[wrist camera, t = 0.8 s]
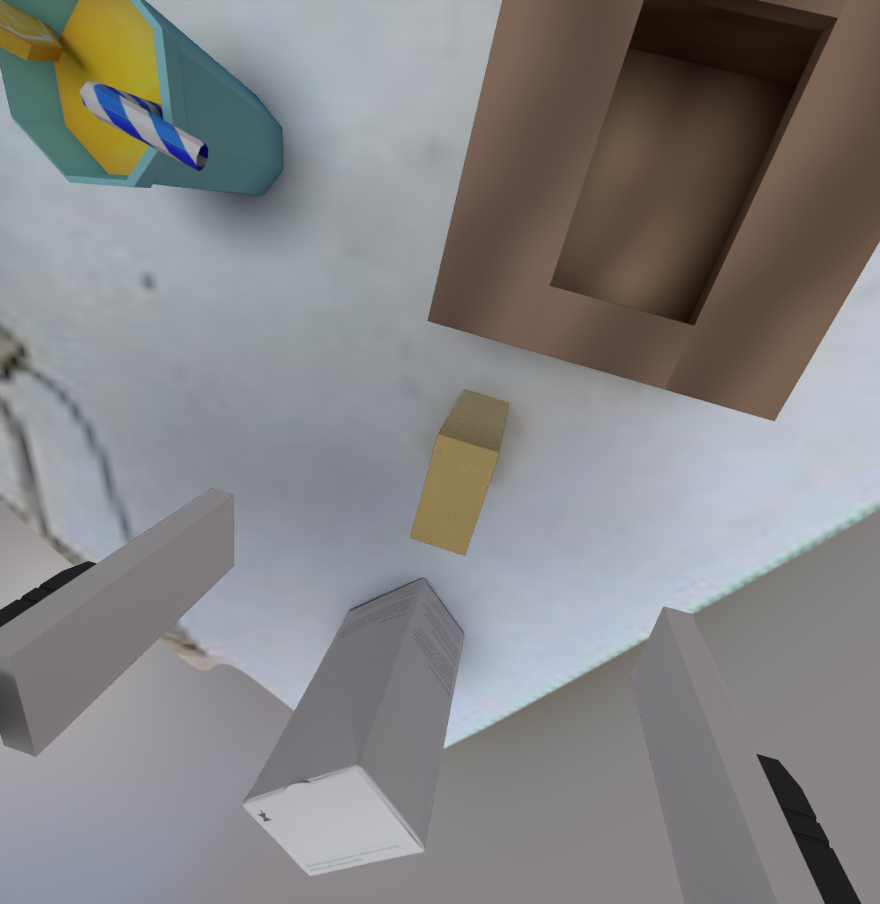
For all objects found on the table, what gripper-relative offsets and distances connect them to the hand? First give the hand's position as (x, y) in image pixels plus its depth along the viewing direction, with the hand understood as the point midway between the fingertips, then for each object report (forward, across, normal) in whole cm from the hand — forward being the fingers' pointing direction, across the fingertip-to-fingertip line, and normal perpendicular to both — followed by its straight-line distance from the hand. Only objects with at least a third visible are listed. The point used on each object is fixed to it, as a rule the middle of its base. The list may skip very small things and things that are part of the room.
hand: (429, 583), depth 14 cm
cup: (+18, -16, +13) cm, 27 cm away
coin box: (+18, +5, +13) cm, 22 cm away
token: (+18, -1, -2) cm, 18 cm away
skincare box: (+18, -3, -18) cm, 26 cm away
